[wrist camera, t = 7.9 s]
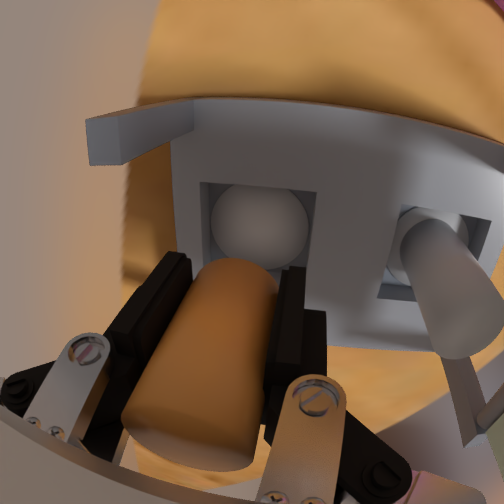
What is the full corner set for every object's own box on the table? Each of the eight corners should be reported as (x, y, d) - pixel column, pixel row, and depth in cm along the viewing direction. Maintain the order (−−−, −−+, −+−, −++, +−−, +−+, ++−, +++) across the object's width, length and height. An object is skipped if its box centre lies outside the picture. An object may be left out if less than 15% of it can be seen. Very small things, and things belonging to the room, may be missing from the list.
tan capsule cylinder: (190, 252, 10) (104, 388, 5) (285, 263, 10) (257, 426, 5) (196, 323, 12) (138, 452, 7) (277, 335, 11) (251, 479, 6)
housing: (189, 97, 13) (59, 127, 6) (504, 144, 11) (624, 216, 4) (198, 300, 18) (141, 420, 11) (443, 326, 16) (479, 445, 9)
